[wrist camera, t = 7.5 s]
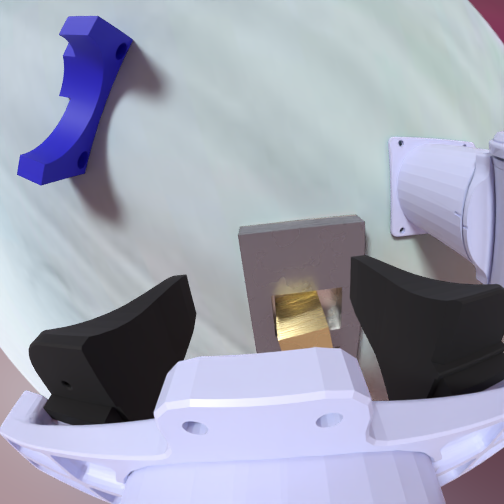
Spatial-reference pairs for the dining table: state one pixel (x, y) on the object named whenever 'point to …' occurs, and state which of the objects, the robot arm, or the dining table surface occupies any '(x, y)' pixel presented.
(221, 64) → the dining table surface
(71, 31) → the cable clip
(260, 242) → the gray rectangular plate
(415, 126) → the dining table surface
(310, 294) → the wooden toy block
